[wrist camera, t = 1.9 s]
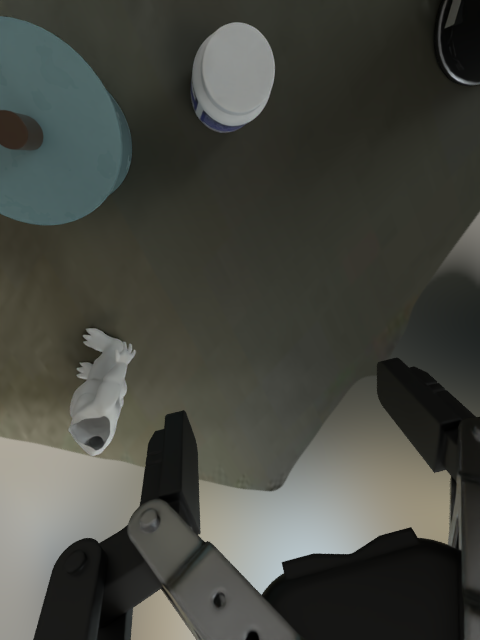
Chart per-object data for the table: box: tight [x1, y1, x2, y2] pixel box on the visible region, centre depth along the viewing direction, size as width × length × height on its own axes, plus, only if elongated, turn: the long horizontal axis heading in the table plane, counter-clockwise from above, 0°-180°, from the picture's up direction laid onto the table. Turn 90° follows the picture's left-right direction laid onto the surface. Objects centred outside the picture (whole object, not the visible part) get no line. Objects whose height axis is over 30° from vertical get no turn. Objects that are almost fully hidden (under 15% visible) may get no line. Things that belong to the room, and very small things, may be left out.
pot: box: [0, 16, 132, 225], centre depth 24 cm, size 12×12×12 cm
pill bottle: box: [191, 22, 275, 133], centre depth 25 cm, size 6×6×10 cm
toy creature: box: [68, 328, 136, 456], centre depth 34 cm, size 12×6×12 cm, turn 160°
